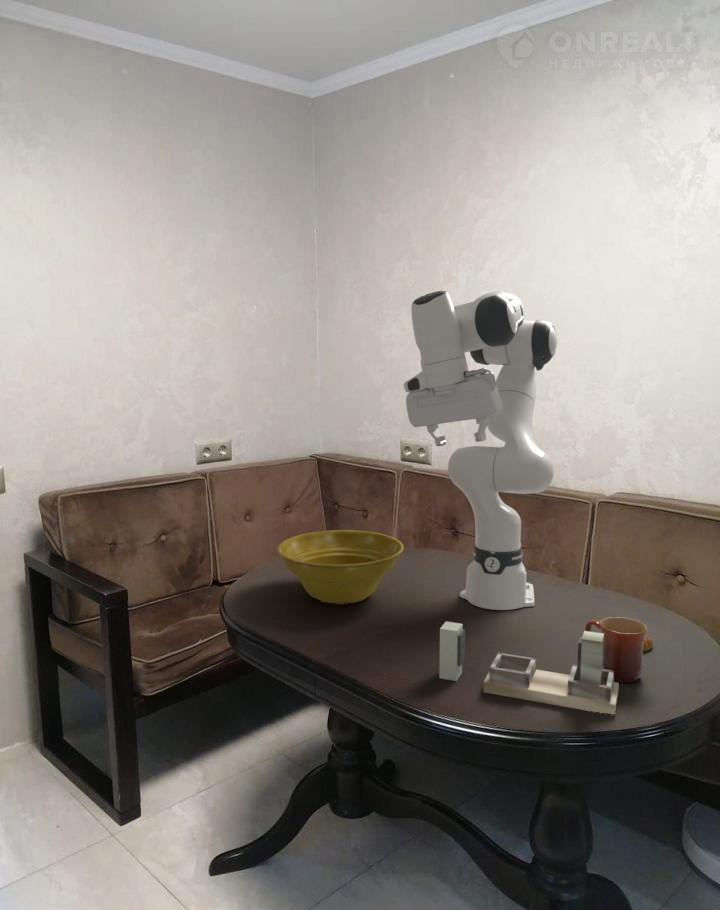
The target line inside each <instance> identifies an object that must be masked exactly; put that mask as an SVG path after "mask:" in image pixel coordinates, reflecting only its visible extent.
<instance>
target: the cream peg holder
mask: <svg viewBox="0 0 720 910" xmlns="http://www.w3.org/2000/svg"><path fill="white" fill-rule="evenodd" d="M603 644H604V634H603V633H602V632H595V631H591V632H589V631H585V630H583V634H582V636H579V640H578V644H577V649H578V650H577V664H572V667H571V669H570V673H569V674H566V673H560V672H553V671H548V670H547V671H546V670H543V669H537V658H535V657H531V656H530V657H527V656H522V655H518V654H517V655H516V654H510V653H509V654H508V653H503V652H498V653H497V655H495V656H496V657H495V658H494V659H493V662H492V663H491V665H490V667H489V669H488V670H489V671H488V673H487V675H486V677H485V678H484V680H483V687H482V688H483V691H482V692H483V693H486V694H492V695H498V696H503V697H509V698H513V699H514V698H515V699H518V700H519V699H520V700H525V701H530V702H536V703H541V704H548V705H553V706H559V707H564V708H570V709H575V710H581V711H587V712H591V711H592V713H596V712H600V713H599V714H602V713H609V714H615V715H616V712H615V711H616V710H617V705H616V704H618V699H617V698H618V697H619V689H620V688H619V686H620V685H619V683H620V682H617V681H615V680H614V671H612V670H606V669H602V666H603ZM593 711H594V712H593Z"/></svg>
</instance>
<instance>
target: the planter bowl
mask: <svg viewBox="0 0 720 910" xmlns="http://www.w3.org/2000/svg"><path fill="white" fill-rule="evenodd" d="M404 548H405V547H404V544H403V543H402V541H400V540H398V539H397V538H395V537H392V536H391V535H386V534H383V533H379V532H374V531H365V530H356V529H354V530H353V529H347V530H346V529H337V530H333V529H331V530H322V531H321V530H320V531H314V532H313V531H312V532H307V533H303V534H298V535H295V536H292V537H290V538H287V539H285V540H284V541H282V542H280V543H279V544H278V545H277V547H276V551H277V553H278V555H280V557H282V559H283V562H284V564H285V566H286V567H287V569H288V570H289V571H290V572H292V573H293V574H294V575H296V576H297V578H298V579H299V581H300V583H301V585H302V586H303V588H304V590H305V591H306V593H308V595H309V596H310V597H312V598H313V599H315V598H316V599H319V600H322V601H325V602H330V603H342V604H341V605H347V604H346V603H351V604H355V602H356V603H358V602H361V601H364V600H366V599H367V598H369V597H370V596H371V595H372V594H373V593H374V592H375V591H376V589H377V587H378V586H379V584H380V583H381V580H383V579H382V578H383V576H384V575H385V574H386V573H387V572H389V571H390V570H392V568H393V567H394V565H395V564H396V562H397V559H398V557H399V555H400V554H401V553H403V551H404ZM316 599H315V600H316ZM344 603H345V604H344Z"/></svg>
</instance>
